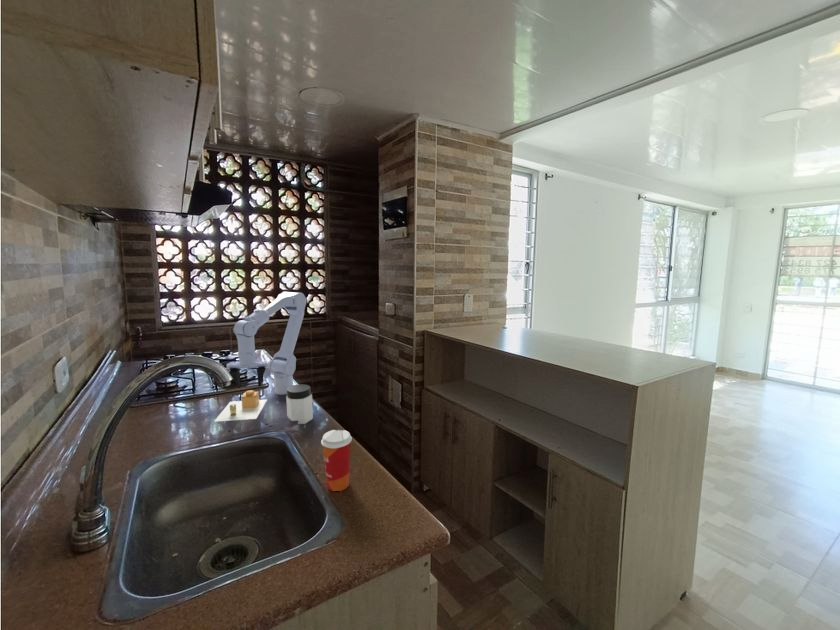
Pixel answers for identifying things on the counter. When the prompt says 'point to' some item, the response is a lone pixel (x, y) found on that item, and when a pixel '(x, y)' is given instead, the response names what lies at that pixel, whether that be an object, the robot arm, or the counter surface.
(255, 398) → the orange domed block
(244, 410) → the white board
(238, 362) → the robot arm
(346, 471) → the paper cup
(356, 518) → the counter surface
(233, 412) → the post
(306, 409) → the jar
